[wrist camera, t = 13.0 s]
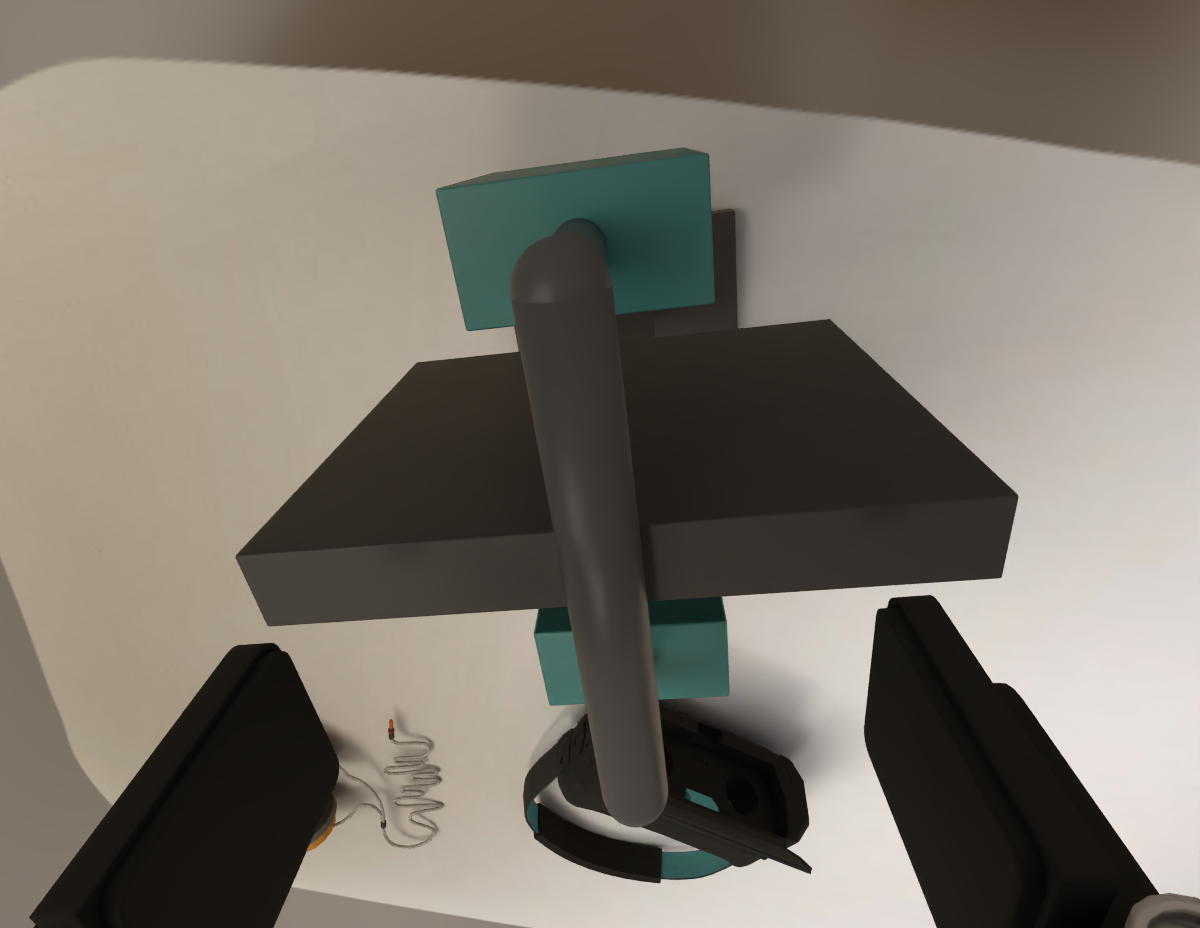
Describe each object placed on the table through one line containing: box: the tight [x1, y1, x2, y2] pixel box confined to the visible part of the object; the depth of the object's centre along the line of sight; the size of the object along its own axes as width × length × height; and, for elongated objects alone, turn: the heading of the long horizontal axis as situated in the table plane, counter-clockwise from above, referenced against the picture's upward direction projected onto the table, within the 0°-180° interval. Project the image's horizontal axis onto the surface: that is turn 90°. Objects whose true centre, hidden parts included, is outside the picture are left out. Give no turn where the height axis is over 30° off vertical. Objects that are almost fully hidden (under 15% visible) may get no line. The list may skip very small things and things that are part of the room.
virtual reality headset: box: [523, 703, 812, 883], centre depth 48 cm, size 19×22×10 cm
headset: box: [436, 148, 730, 827], centre depth 17 cm, size 15×6×11 cm, turn 7°
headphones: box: [306, 719, 443, 852], centre depth 52 cm, size 17×5×20 cm
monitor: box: [236, 209, 1018, 626], centre depth 24 cm, size 8×16×24 cm, turn 97°
